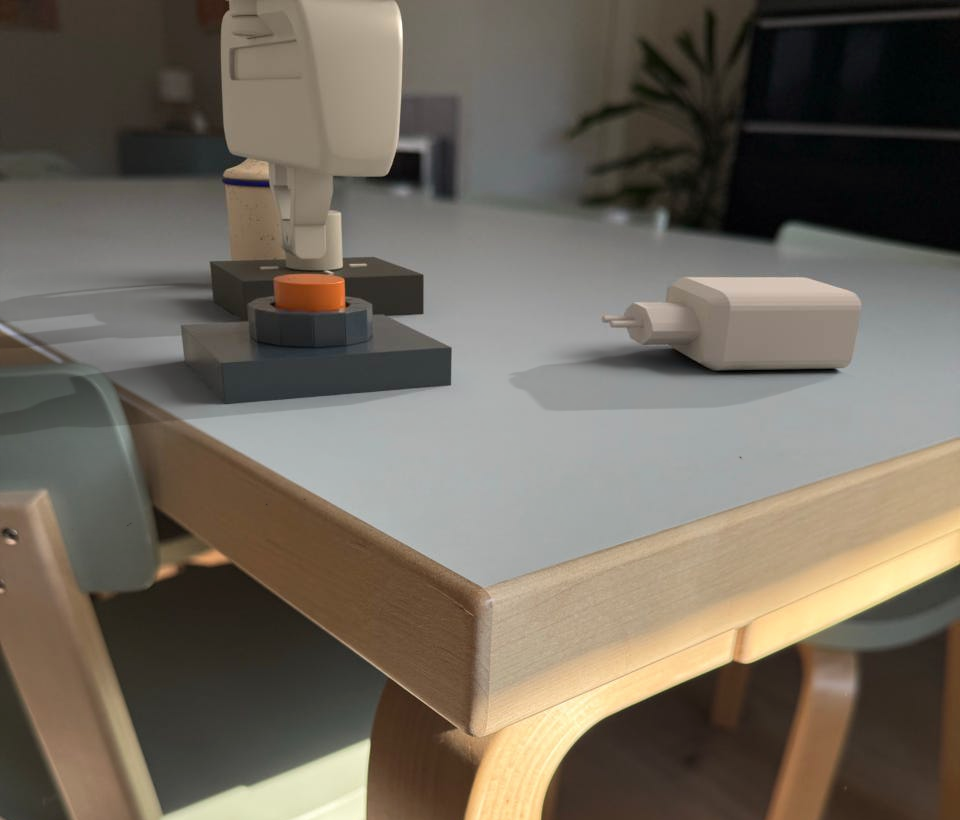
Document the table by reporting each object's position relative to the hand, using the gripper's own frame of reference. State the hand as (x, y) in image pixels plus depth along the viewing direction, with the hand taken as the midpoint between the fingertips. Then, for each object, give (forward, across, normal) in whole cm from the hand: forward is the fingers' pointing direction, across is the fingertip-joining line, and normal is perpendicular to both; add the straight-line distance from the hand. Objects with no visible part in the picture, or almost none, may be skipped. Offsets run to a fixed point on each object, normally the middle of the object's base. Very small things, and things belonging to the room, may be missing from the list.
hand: (303, 255), depth 56 cm
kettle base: (+7, -22, +7) cm, 24 cm away
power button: (+3, 0, 0) cm, 3 cm away
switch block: (+6, 0, 0) cm, 7 cm away
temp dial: (+4, -22, +7) cm, 23 cm away
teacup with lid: (+7, -36, +8) cm, 37 cm away
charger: (+6, +5, +26) cm, 27 cm away
